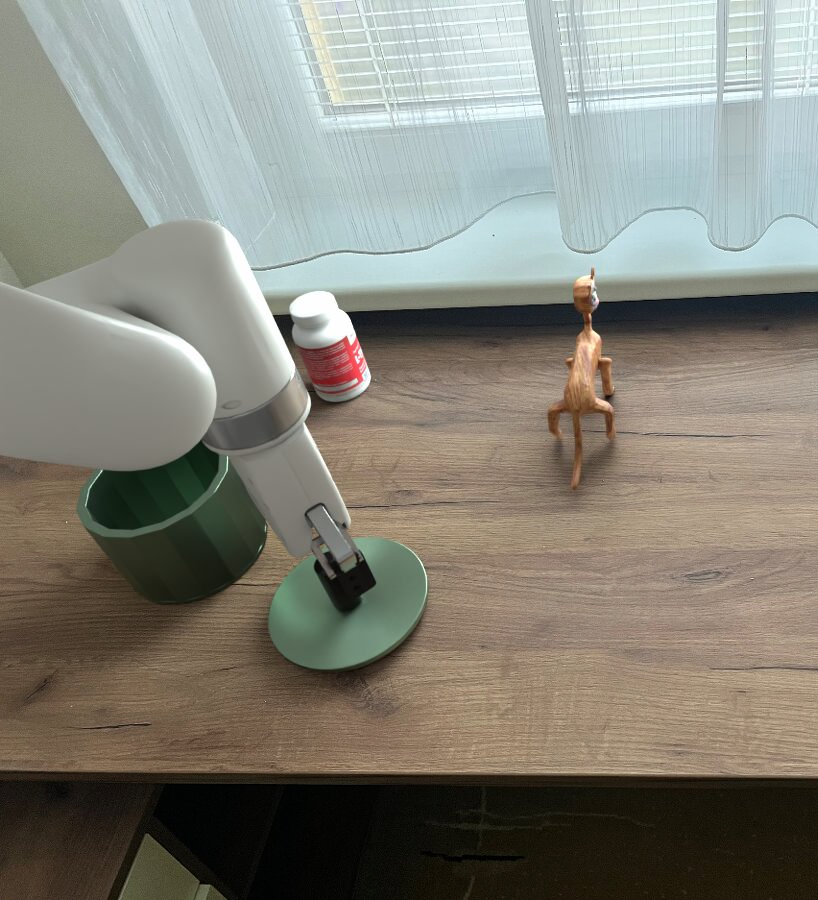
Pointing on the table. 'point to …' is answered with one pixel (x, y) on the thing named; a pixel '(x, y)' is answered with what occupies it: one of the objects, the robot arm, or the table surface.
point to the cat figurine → (584, 377)
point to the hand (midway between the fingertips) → (330, 556)
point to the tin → (175, 525)
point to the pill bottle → (328, 347)
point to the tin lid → (348, 610)
